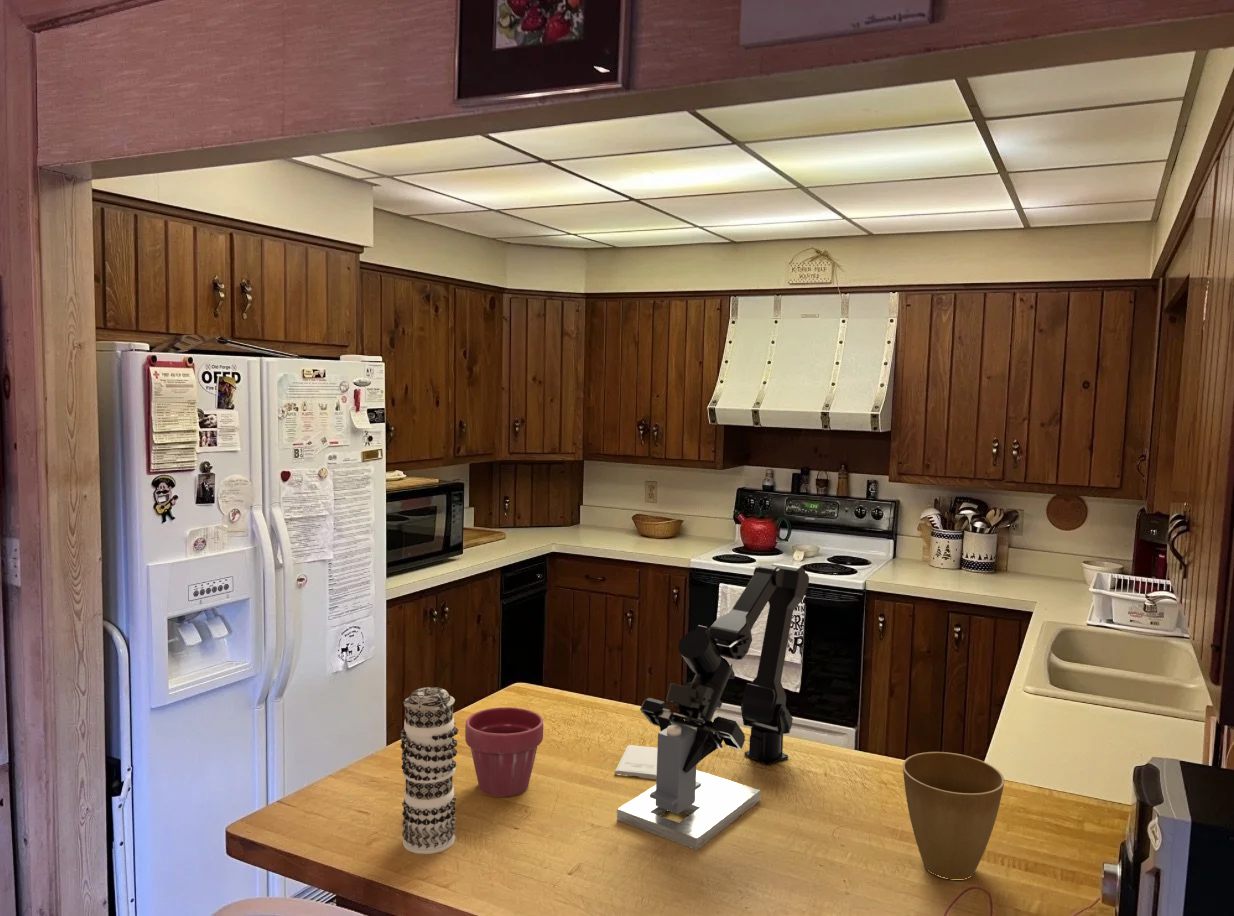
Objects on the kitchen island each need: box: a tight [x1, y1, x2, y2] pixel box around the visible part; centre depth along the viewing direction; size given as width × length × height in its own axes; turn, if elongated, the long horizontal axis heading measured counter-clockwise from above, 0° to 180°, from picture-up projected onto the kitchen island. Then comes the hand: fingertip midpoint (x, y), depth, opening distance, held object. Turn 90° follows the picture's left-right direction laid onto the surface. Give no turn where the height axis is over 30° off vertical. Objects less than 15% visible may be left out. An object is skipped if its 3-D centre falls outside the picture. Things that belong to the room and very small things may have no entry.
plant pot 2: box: [902, 751, 1005, 879], centre depth 143 cm, size 15×15×16 cm
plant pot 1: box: [464, 706, 544, 798], centre depth 168 cm, size 14×14×13 cm
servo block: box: [650, 723, 701, 815], centre depth 156 cm, size 9×4×14 cm, turn 142°
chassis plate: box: [616, 769, 761, 851], centre depth 161 cm, size 22×16×2 cm
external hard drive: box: [614, 744, 658, 780], centre depth 180 cm, size 2×8×12 cm
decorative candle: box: [399, 686, 459, 855], centre depth 148 cm, size 9×9×25 cm
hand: (672, 767), depth 155 cm, fingers closed on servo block, 5 cm apart
